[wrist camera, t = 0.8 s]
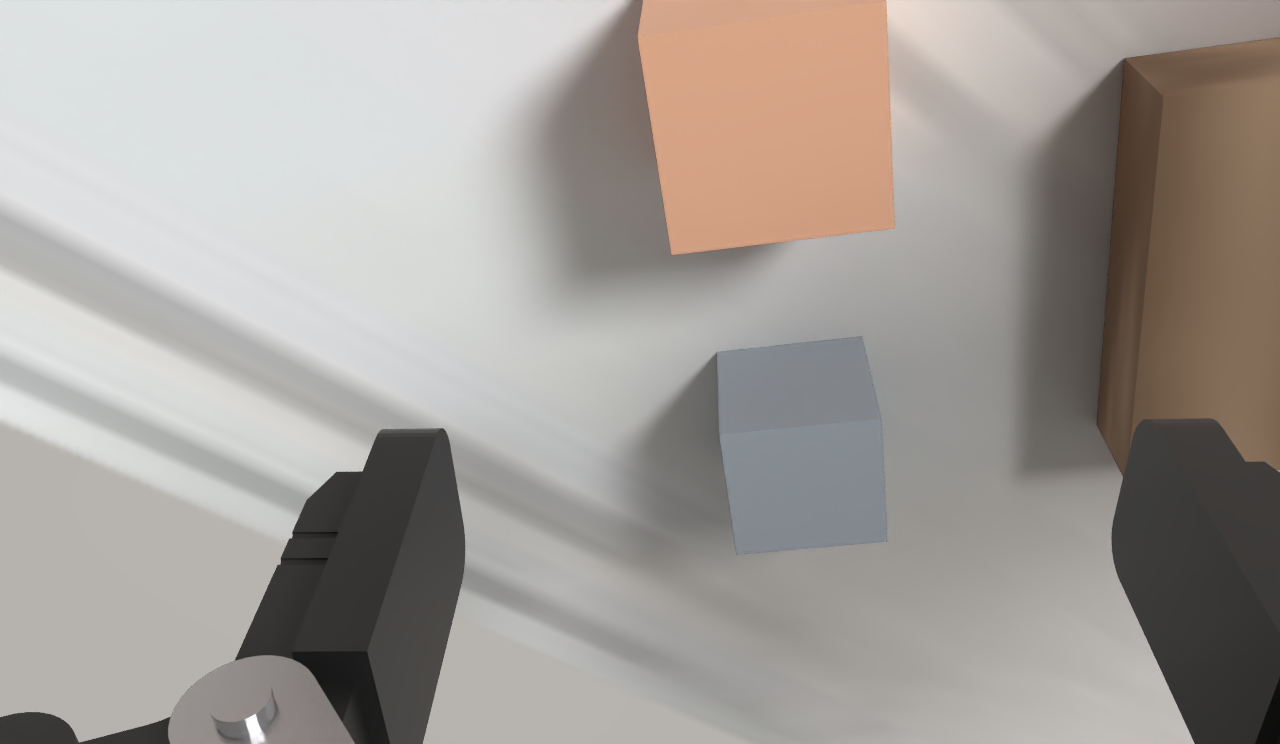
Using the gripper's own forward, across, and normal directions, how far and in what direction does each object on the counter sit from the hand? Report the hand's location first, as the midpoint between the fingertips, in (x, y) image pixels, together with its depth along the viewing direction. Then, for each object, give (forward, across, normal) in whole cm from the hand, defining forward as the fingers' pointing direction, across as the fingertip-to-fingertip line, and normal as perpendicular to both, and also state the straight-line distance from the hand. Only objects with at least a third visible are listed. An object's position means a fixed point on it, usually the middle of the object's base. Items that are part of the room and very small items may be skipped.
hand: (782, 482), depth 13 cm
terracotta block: (+20, -1, +1) cm, 20 cm away
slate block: (+20, -2, +12) cm, 23 cm away
